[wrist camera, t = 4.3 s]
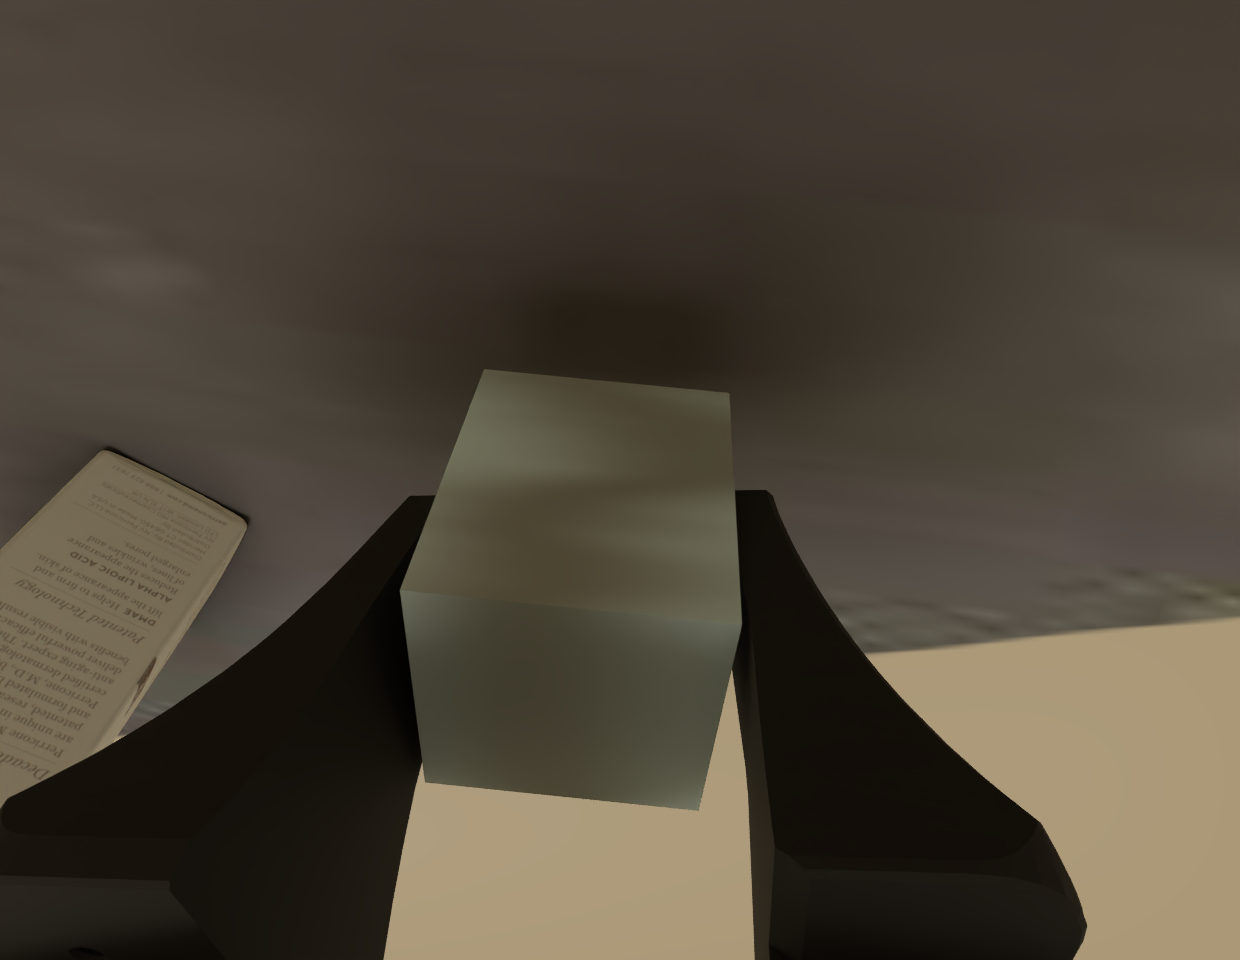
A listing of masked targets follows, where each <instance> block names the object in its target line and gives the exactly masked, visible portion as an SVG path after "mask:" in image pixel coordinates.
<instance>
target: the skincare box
mask: <svg viewBox="0 0 1240 960" xmlns="http://www.w3.org/2000/svg"><path fill="white" fill-rule="evenodd" d="M246 529H247V524H246V522H245V521H244V519H242V518H241V517H239V516H238V515H236V514H235V513H233V512H231V511H229V510H227V509H225V508H223V507H222V506H220V505H219V504H217V503H215V502H213V501H212V500H210V499H208V498H206V497H204V496H203V495H201V494H199V493H197V492H195V491H193V490H191V489H189V488H187V487H185V486H183V485H181V484H179V483H177V482H175V481H173V480H171V479H169V478H167V477H166V476H164V475H161V474H159V473H158V472H155V471H153V470H151V469H149V468H147V467H145V466H143V465H141V464H138V463H136V462H134V461H132V460H130V459H127V458H125V457H123V456H120V455H118V454H115V453H113V452H110V451H106V450H103V451H100V452H99V453H98V454H97V455H96V456H95V457H94V458H93V459H92V460H91V461H90V462H89V463H88V464H87V465H86V466H85V467H84V468H83V469H82V470H81V471H80V472H79V473H77V474H76V475H75V476H74V477H73V478H72V479H71V480H70V481H69V482H68V483H67V484H66V485H65V486H64V487H63V488H62V489H61V490H60V491H59V492H58V493H57V494H56V495H55V496H54V497H53V498H52V499H51V500H50V501H49V502H48V503H47V504H46V505H45V506H44V507H43V508H42V509H41V510H40V511H39V512H38V513H37V514H36V515H35V516H34V517H33V518H32V519H31V520H30V521H29V522H28V523H27V524H26V525H25V526H24V527H23V528H22V529H21V530H20V531H19V532H18V533H17V534H16V535H15V536H14V537H13V538H12V539H11V540H10V541H9V542H8V543H7V544H6V545H5V546H4V547H3V548H2V549H1V550H0V808H1V807H2V805H3V804H4V803H5V801H6V800H7V798H9V797H11V796H13V795H15V794H17V793H19V792H21V791H23V790H25V789H27V788H29V787H31V786H33V785H35V784H37V783H39V782H41V781H43V780H45V779H47V778H49V777H51V776H53V775H55V774H57V773H58V772H60V771H62V770H64V769H66V768H68V767H70V766H72V765H74V764H76V763H78V762H80V761H82V760H84V759H86V758H87V757H89V756H91V755H93V754H95V753H97V752H98V751H100V750H102V749H104V748H105V747H107V746H109V745H111V744H112V743H113V741H114V740H115V738H116V737H117V735H118V734H119V732H120V731H121V729H122V728H123V726H124V725H125V723H126V722H127V720H128V719H129V717H130V716H131V714H132V713H133V711H134V710H135V708H136V707H137V705H138V704H139V702H140V701H141V699H142V698H143V696H144V695H145V693H146V692H147V690H148V689H149V687H150V686H151V684H152V683H153V681H154V680H155V678H156V677H157V675H158V674H159V672H160V671H161V669H162V668H163V666H164V665H165V663H166V661H167V660H168V658H169V657H170V655H171V654H172V652H173V651H174V649H175V648H176V646H177V645H178V643H179V642H180V640H181V639H182V637H183V636H184V634H185V633H186V631H187V630H188V628H189V627H190V625H191V624H192V622H193V621H194V619H195V618H196V616H197V615H198V613H199V611H200V610H201V608H202V607H203V605H204V604H205V602H206V601H207V599H208V598H209V596H210V594H211V593H212V591H213V590H214V588H215V586H216V585H217V583H218V581H219V580H220V578H221V576H222V575H223V573H224V571H225V569H226V568H227V566H228V564H229V562H230V560H231V558H232V557H233V555H234V553H235V551H236V549H237V547H238V546H239V544H240V542H241V540H242V538H243V536H244V533H245V531H246Z"/></svg>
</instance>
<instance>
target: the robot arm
mask: <svg viewBox="0 0 1240 960" xmlns="http://www.w3.org/2000/svg"><path fill="white" fill-rule="evenodd" d="M435 497H436V495H435V496H409V497H408V498H407V499H406V500H405V501H404V503H403V504H402V505H401V506H400V507H399V508H398V509H397V510H396V511H395V512H394V513H393V514H392V515H391V516H390V517H389V518H388V519H387V520H386V521H385V522H384V524H383V525H382V526H381V527H380V528H379V529H378V530H377V531H376V532H375V533H374V534H373V535H372V536H371V537H370V539H369V540H368V541H367V542H366V543H365V544H364V545H363V546H362V547H361V548H360V549H359V550H358V551H357V552H356V553H355V554H354V555H353V556H352V558H351V559H350V560H349V561H348V562H347V563H346V564H345V565H344V566H343V567H342V568H341V569H340V570H339V571H338V572H337V573H336V574H335V575H334V576H333V577H332V578H331V579H330V580H329V581H328V582H327V583H326V584H325V585H324V586H323V587H322V588H321V589H320V590H319V591H318V592H317V593H315V594H314V595H313V596H312V597H311V598H310V599H309V600H308V601H307V602H306V603H305V604H304V605H303V606H302V607H300V608H299V609H298V610H297V611H296V612H295V613H294V614H293V615H292V616H291V617H290V618H289V619H288V620H287V621H286V622H284V623H283V624H282V625H281V626H280V627H279V628H277V629H276V630H275V631H274V632H273V633H272V634H270V635H269V636H268V637H267V638H266V639H264V640H263V641H262V642H261V643H260V644H258V645H257V646H256V647H255V648H253V649H252V650H251V651H249V652H248V653H247V654H246V655H244V656H243V657H242V658H241V659H239V660H238V661H237V662H235V663H234V664H233V665H232V666H230V667H229V668H228V669H226V670H225V671H224V672H222V673H221V674H219V675H218V676H216V677H215V678H214V679H212V680H211V681H209V682H208V683H206V684H205V685H203V686H202V687H200V688H199V689H198V690H196V691H195V692H193V693H192V694H190V695H189V696H187V697H186V698H185V699H183V700H182V701H180V702H179V703H177V704H176V705H174V706H173V707H172V708H170V709H168V710H167V711H165V712H164V713H162V714H161V715H159V716H157V717H156V718H154V719H153V720H151V721H149V722H148V723H146V724H144V725H143V726H141V727H140V728H138V729H136V730H135V731H133V732H131V733H130V734H128V735H126V736H124V737H123V738H121V739H119V740H118V741H116V742H114V743H112V744H111V745H109V746H107V747H105V748H104V749H102V750H100V751H98V752H97V753H95V754H93V755H91V756H89V757H87V758H86V759H84V760H82V761H80V762H78V763H76V764H74V765H72V766H70V767H68V768H66V769H64V770H62V771H60V772H58V773H57V774H55V775H53V776H51V777H49V778H47V779H45V780H43V781H41V782H39V783H37V784H35V785H33V786H31V787H29V788H27V789H25V790H23V791H21V792H19V793H17V794H15V795H13V796H11V797H9V798H7V800H6V801H5V803H4V804H3V805H2V807H1V808H0V960H383V958H384V952H385V946H386V940H387V934H388V928H389V921H390V915H391V909H392V903H393V898H394V892H395V887H396V881H397V876H398V871H399V865H400V860H401V855H402V849H403V844H404V839H405V834H406V829H407V824H408V820H409V814H410V810H411V805H412V800H413V795H414V791H415V786H416V783H417V779H418V775H419V772H420V768H421V764H422V755H421V747H420V740H419V732H418V724H417V717H416V709H415V702H414V694H413V686H412V679H411V671H410V664H409V656H408V648H407V641H406V633H405V626H404V618H403V610H402V603H401V595H400V589H401V586H402V583H403V581H404V578H405V575H406V573H407V570H408V568H409V565H410V562H411V560H412V557H413V554H414V552H415V549H416V547H417V544H418V541H419V539H420V536H421V533H422V531H423V528H424V526H425V523H426V520H427V518H428V515H429V512H430V510H431V507H432V505H433V502H434V499H435ZM735 505H736V523H737V542H738V560H739V578H740V597H741V615H742V627H741V631H740V636H739V640H738V644H737V648H736V653H735V657H734V661H733V665H732V672H733V679H734V686H735V694H736V701H737V708H738V715H739V723H740V730H741V737H742V744H743V751H744V759H745V766H746V777H747V788H748V802H749V826H750V849H751V874H752V899H753V923H754V924H753V925H754V951H755V960H1073V958H1074V957H1075V954H1076V953H1077V951H1078V949H1079V948H1080V946H1081V944H1082V942H1083V940H1084V936H1085V932H1086V929H1087V923H1086V921H1085V918H1084V915H1083V910H1082V906H1081V903H1080V900H1079V898H1078V895H1077V892H1076V890H1075V888H1074V886H1073V883H1072V881H1071V879H1070V877H1069V875H1068V873H1067V871H1066V869H1065V867H1064V865H1063V863H1062V861H1061V859H1060V857H1059V855H1058V853H1057V851H1056V849H1055V847H1054V845H1053V844H1052V842H1051V840H1050V838H1049V836H1048V835H1047V833H1046V831H1045V829H1044V828H1043V826H1042V824H1041V823H1040V822H1039V821H1038V820H1036V819H1035V818H1034V817H1033V816H1031V815H1030V814H1029V813H1028V812H1026V811H1025V810H1024V809H1022V808H1021V807H1020V806H1019V805H1017V804H1016V803H1015V802H1014V801H1012V800H1011V799H1010V798H1008V797H1007V796H1006V795H1005V794H1003V793H1002V792H1001V791H1000V790H999V789H997V788H996V787H995V786H994V785H993V784H991V783H990V782H989V781H988V780H987V779H985V778H984V777H983V776H982V775H981V774H979V773H978V772H977V771H976V770H975V769H974V768H973V767H972V766H971V765H969V764H968V763H967V762H966V761H965V760H964V759H963V758H962V757H961V756H960V755H958V754H957V753H956V752H955V751H954V750H953V749H952V748H951V747H950V746H948V745H947V744H946V743H945V742H944V741H943V740H942V738H940V737H939V735H937V733H935V731H934V730H933V729H932V728H930V726H928V724H926V722H925V721H924V720H923V719H922V718H921V717H919V715H918V714H917V713H916V712H915V711H914V710H913V709H912V708H910V706H909V705H908V704H907V703H906V702H905V701H904V700H903V699H902V698H901V697H900V696H899V695H898V694H897V692H896V691H895V690H894V689H893V688H892V687H891V686H890V684H889V683H888V682H887V681H886V680H885V679H884V678H883V677H882V675H881V674H880V673H879V672H878V671H877V669H876V668H875V667H874V666H873V664H872V663H871V662H870V661H869V660H868V658H867V657H866V656H865V655H864V653H863V652H862V651H861V650H860V648H859V647H858V646H857V644H856V643H855V642H854V640H853V639H852V638H851V636H850V635H849V634H848V632H847V631H846V630H845V628H844V627H843V625H842V624H841V622H840V621H839V619H838V618H837V617H836V615H835V614H834V612H833V611H832V609H831V608H830V606H829V605H828V603H827V602H826V600H825V599H824V597H823V596H822V594H821V592H820V591H819V589H818V588H817V586H816V584H815V582H814V581H813V579H812V577H811V576H810V574H809V572H808V571H807V569H806V567H805V566H804V564H803V562H802V560H801V558H800V557H799V555H798V553H797V551H796V549H795V547H794V545H793V543H792V541H791V539H790V537H789V535H788V533H787V531H786V529H785V527H784V524H783V522H782V520H781V517H780V515H779V512H778V510H777V507H776V504H775V501H774V498H773V496H772V495H771V494H770V493H769V492H768V491H767V490H737V491H735Z"/></svg>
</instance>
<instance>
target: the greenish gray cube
mask: <svg viewBox="0 0 1240 960" xmlns="http://www.w3.org/2000/svg"><path fill="white" fill-rule="evenodd" d="M400 595H401V603H402V610H403V618H404V626H405V633H406V641H407V648H408V656H409V664H410V671H411V679H412V686H413V694H414V702H415V709H416V717H417V724H418V732H419V740H420V747H421V755H422V763H423V770H424V778H425V782H427V783H438V784H446V785H457V786H466V787H476V788H485V789H495V790H504V791H514V792H524V793H533V794H543V795H553V796H562V797H572V798H582V799H591V800H601V801H610V802H620V803H629V804H639V805H649V806H658V807H668V808H678V809H688V810H697V811H698V810H699V806H700V802H701V798H702V794H703V789H704V785H705V781H706V776H707V772H708V768H709V764H710V759H711V755H712V751H713V747H714V742H715V738H716V733H717V730H718V725H719V721H720V717H721V712H722V708H723V703H724V699H725V695H726V691H727V686H728V682H729V678H730V674H731V670H732V665H733V661H734V657H735V653H736V648H737V644H738V640H739V636H740V631H741V627H742V615H741V597H740V578H739V560H738V542H737V523H736V505H735V487H734V468H733V450H732V432H731V413H730V395H729V393H725V392H714V391H704V390H694V389H684V388H673V387H663V386H653V385H642V384H632V383H622V382H612V381H601V380H591V379H581V378H570V377H560V376H550V375H540V374H529V373H519V372H509V371H498V370H488V369H484V371H483V373H482V376H481V379H480V381H479V384H478V387H477V389H476V392H475V394H474V397H473V400H472V402H471V405H470V408H469V410H468V413H467V415H466V418H465V421H464V423H463V426H462V429H461V431H460V434H459V436H458V439H457V442H456V444H455V447H454V450H453V452H452V455H451V457H450V460H449V463H448V465H447V468H446V470H445V473H444V476H443V478H442V481H441V484H440V486H439V489H438V491H437V494H436V497H435V499H434V502H433V505H432V507H431V510H430V512H429V515H428V518H427V520H426V523H425V526H424V528H423V531H422V533H421V536H420V539H419V541H418V544H417V547H416V549H415V552H414V554H413V557H412V560H411V562H410V565H409V568H408V570H407V573H406V575H405V578H404V581H403V583H402V586H401V589H400Z"/></svg>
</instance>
